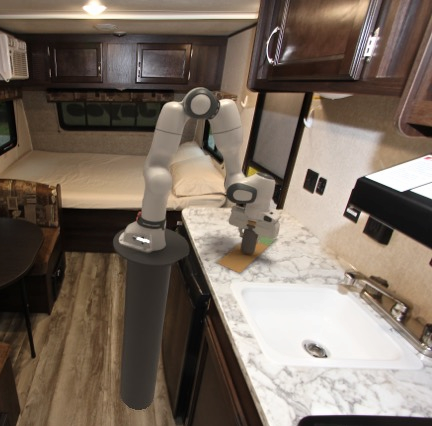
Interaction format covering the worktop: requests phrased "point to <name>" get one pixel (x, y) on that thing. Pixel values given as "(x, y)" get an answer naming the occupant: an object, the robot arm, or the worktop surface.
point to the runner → (241, 258)
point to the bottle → (249, 239)
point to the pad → (266, 240)
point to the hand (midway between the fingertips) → (249, 239)
